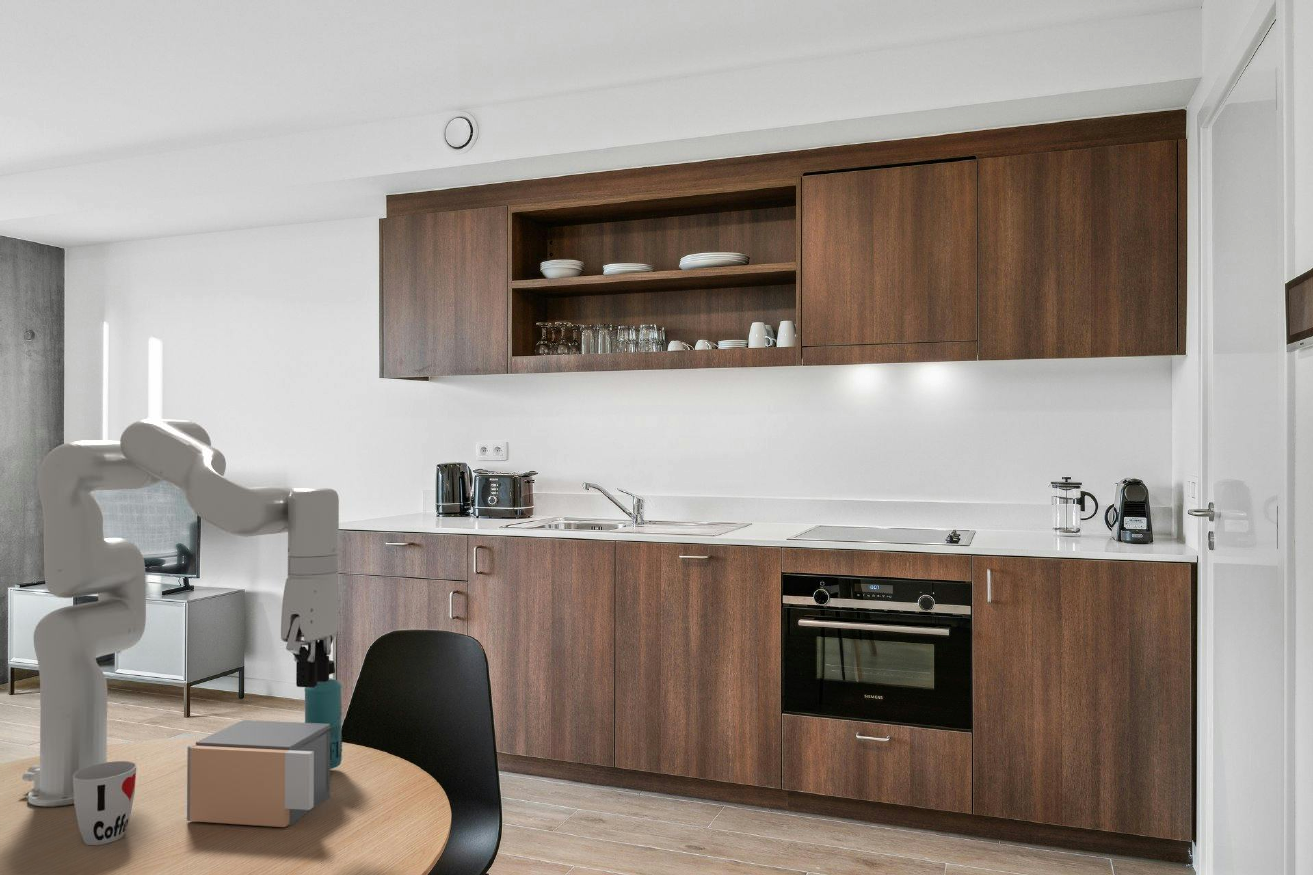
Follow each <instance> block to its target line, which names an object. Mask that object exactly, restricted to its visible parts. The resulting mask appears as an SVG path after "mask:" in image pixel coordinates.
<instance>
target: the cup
mask: <svg viewBox="0 0 1313 875" xmlns="http://www.w3.org/2000/svg"><path fill="white" fill-rule="evenodd" d="M136 776H137V763H136V762H133V761H126V760H124V761H123V760H122V761H121V760H120V761H116V760H115V761H108V762H107V763H101V764H96V765H92V766H89V767H86V768H83V769H80V770H78V771H77V772H75V773H74V774H73V790H74V804H73V805H74V809H75V815H76V819H77V826H78V828H79V831H80V835H81V836H82V838H83V842H84V844H85V845H88V846H98V845H106V844H109V843H113V842H116V841H118V840H120V839H121V838H123V837H124V835H125V834H126V831H127V827H128V825H129V821H130V819H131V814H132V808H133V803H134V797H135V794H136V793H135V790H136Z"/></svg>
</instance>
